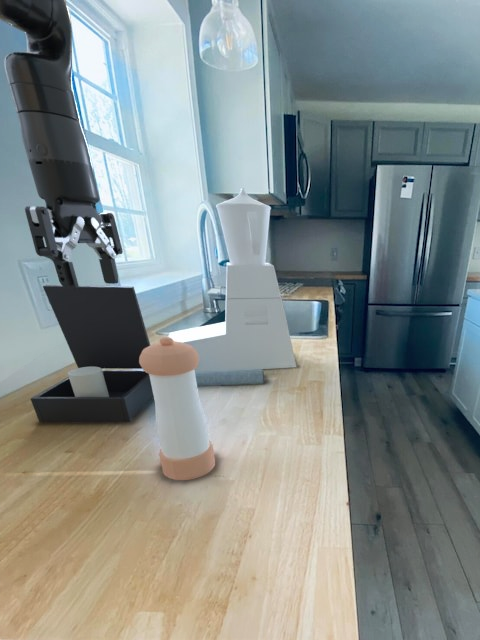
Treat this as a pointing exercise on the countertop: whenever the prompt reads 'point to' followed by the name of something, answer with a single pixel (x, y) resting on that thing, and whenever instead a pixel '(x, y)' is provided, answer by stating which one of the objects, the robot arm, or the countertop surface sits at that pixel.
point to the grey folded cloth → (230, 377)
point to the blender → (245, 299)
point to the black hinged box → (96, 399)
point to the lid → (100, 325)
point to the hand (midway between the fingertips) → (92, 286)
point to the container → (88, 382)
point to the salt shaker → (178, 409)
